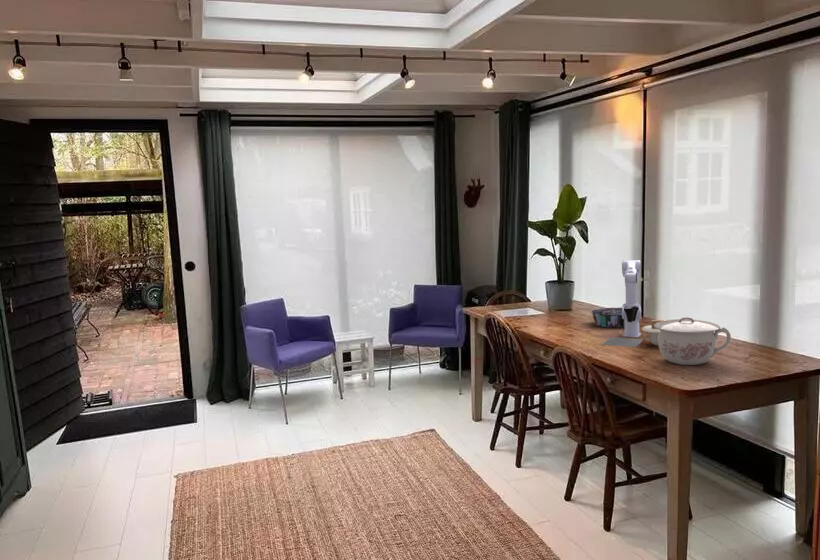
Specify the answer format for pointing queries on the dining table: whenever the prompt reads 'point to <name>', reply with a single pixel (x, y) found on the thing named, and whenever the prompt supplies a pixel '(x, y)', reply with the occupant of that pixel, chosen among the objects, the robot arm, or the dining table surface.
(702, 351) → the chamber pot
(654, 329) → the lid
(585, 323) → the dining table surface
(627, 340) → the mat
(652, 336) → the teacup
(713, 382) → the dining table surface
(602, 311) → the decorative bowl
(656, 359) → the dining table surface
